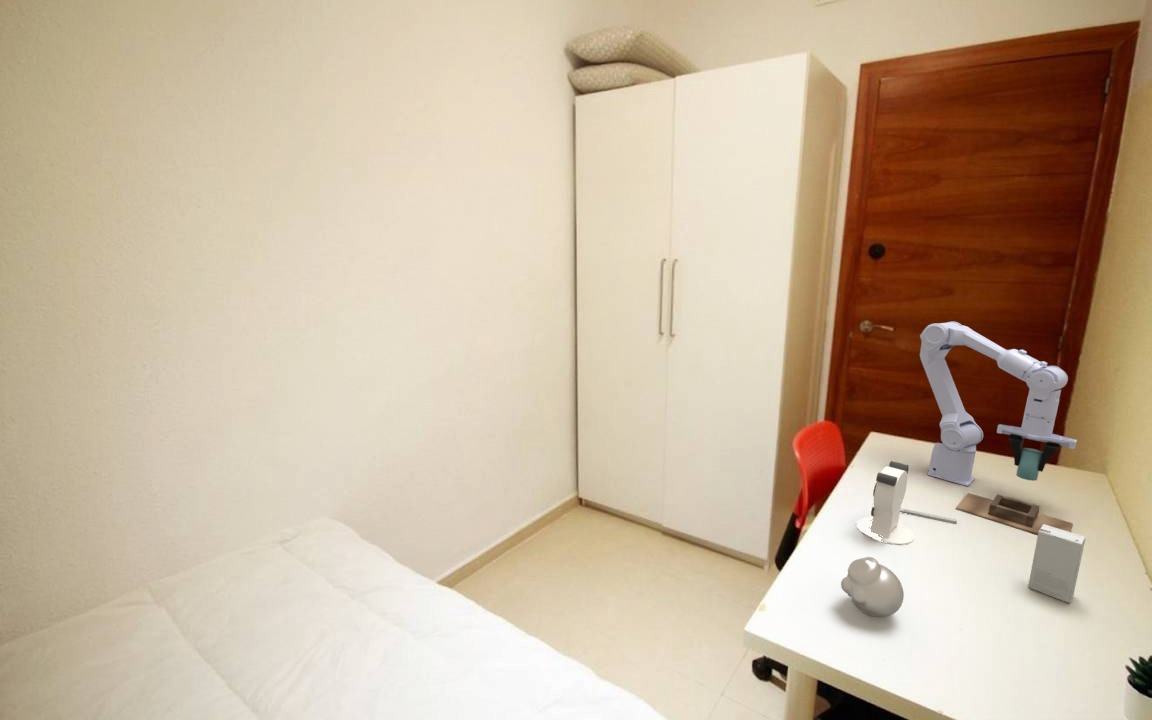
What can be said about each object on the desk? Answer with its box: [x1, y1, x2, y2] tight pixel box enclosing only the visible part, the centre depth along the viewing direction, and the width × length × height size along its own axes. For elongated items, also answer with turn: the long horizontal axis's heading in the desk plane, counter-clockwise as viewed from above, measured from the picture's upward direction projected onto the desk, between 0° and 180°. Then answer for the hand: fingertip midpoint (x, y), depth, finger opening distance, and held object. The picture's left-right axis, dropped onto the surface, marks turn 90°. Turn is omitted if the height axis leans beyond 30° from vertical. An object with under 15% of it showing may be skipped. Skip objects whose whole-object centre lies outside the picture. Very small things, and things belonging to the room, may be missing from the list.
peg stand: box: [955, 492, 1073, 536], centre depth 122 cm, size 20×12×3 cm, turn 41°
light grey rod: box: [900, 508, 958, 525], centre depth 122 cm, size 12×1×1 cm, turn 63°
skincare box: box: [1027, 524, 1086, 604], centre depth 94 cm, size 6×4×12 cm
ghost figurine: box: [840, 556, 905, 618], centre depth 89 cm, size 9×10×10 cm
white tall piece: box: [869, 460, 915, 545], centre depth 115 cm, size 12×11×15 cm
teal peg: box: [1015, 447, 1043, 482], centre depth 128 cm, size 4×4×7 cm
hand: (1028, 467), depth 128 cm, fingers closed on teal peg, 4 cm apart
